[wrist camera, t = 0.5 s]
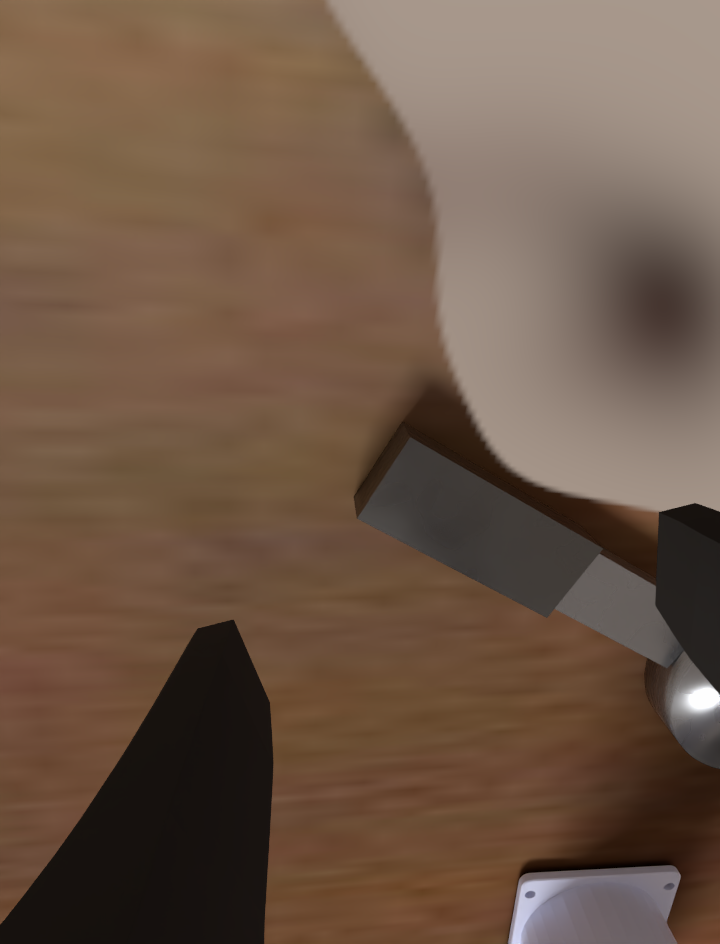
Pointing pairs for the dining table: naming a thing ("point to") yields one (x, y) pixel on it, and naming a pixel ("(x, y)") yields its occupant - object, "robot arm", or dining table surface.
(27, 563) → the dining table surface
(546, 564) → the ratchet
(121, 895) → the robot arm
